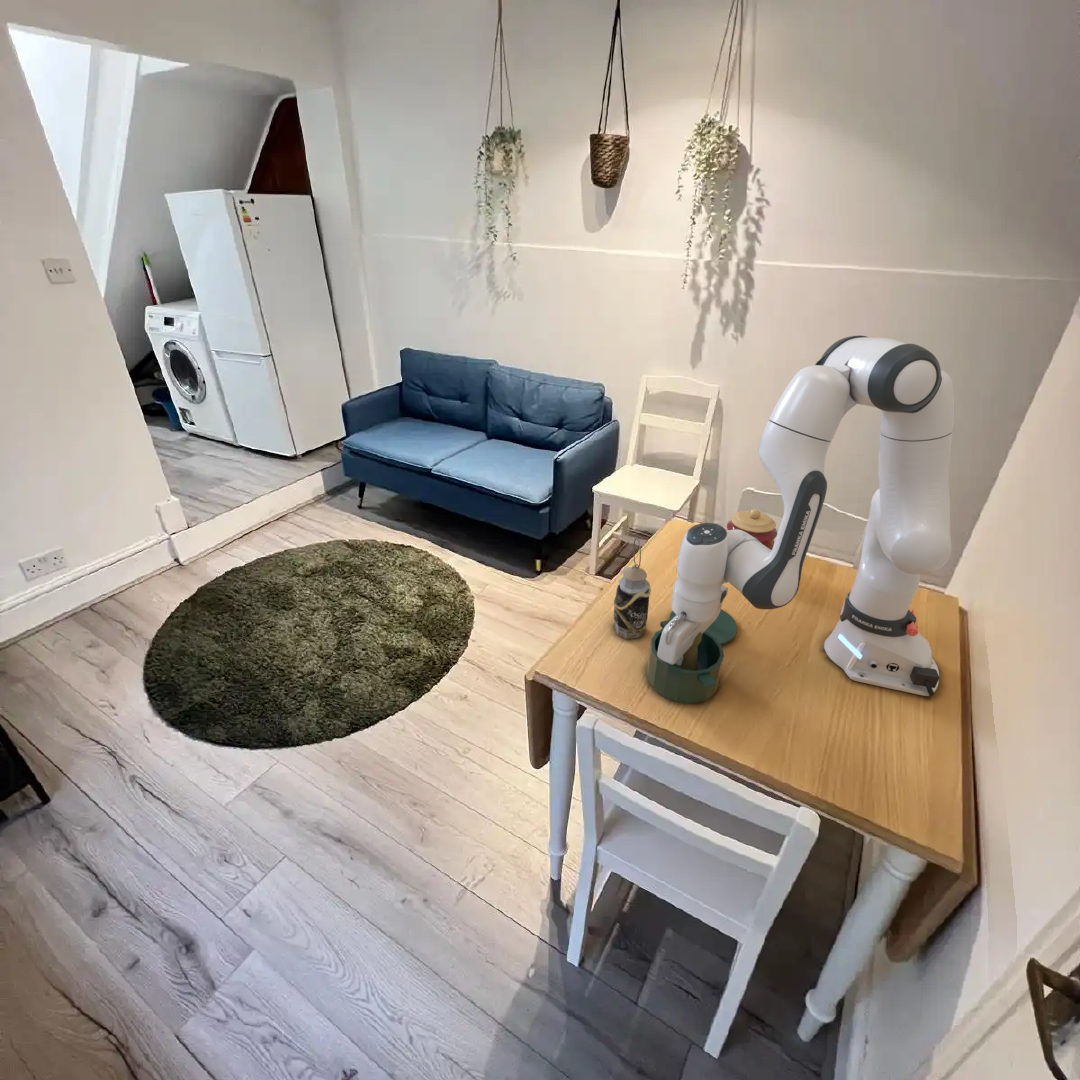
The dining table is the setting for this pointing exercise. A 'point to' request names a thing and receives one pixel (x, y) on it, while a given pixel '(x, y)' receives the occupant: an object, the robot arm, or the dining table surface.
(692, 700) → the pot
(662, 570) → the dining table surface
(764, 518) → the kitchen canister
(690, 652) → the tan game pawn
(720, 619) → the lid
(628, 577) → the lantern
